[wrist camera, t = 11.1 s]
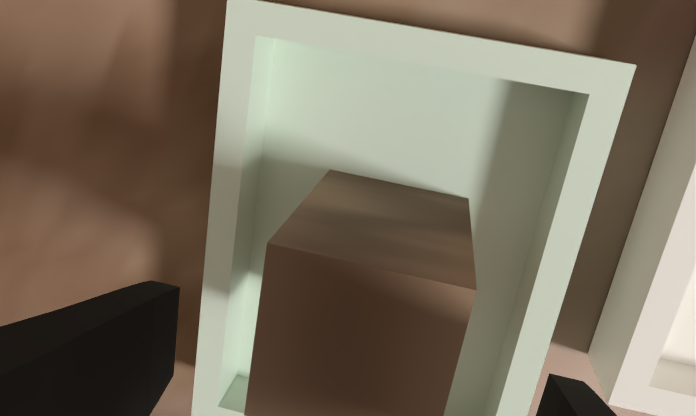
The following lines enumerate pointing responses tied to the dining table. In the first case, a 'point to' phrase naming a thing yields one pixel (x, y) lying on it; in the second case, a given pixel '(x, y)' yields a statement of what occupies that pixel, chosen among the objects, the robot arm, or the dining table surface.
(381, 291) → the walnut block
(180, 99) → the dining table surface
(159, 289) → the robot arm
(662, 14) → the dining table surface
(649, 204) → the cream dish
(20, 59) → the dining table surface
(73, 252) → the dining table surface
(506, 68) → the sage tray
